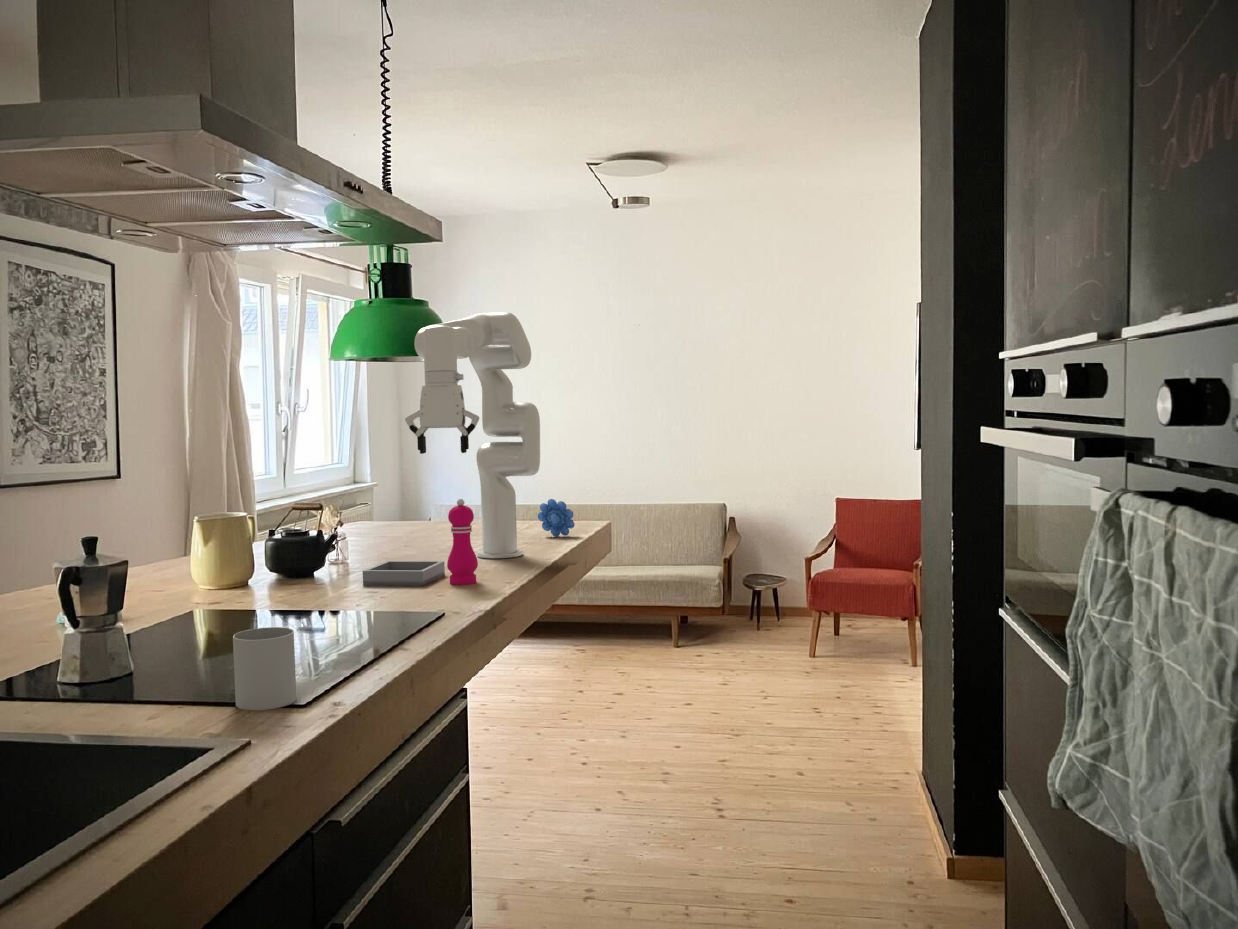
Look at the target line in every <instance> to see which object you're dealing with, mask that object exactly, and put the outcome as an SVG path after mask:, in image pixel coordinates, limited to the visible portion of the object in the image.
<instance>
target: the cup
mask: <svg viewBox="0 0 1238 929" xmlns="http://www.w3.org/2000/svg"><path fill="white" fill-rule="evenodd" d="M232 646H233V647H232V648H233V649H232V650H233V652H232V653H233V673H234V674H233V675H234V691H235V692H234V694H235V707H237V708H238V709H240V710H244V711H267V710H273V709H278V708H279V709H280V708H283V707H286V706H289V705H292V704H293V703H295V702H296V701H297V676H296V673H297V672H296V654H295V651H296V650H295V632H294V629H292V628H289V627H278V626H276V627H275V626H273V627H269V626H268V627H259V628H251V629H247V630H242V631H239V632H237V633H234V634H233V636H232Z"/></svg>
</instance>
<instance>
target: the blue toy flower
mask: <svg viewBox="0 0 1238 929" xmlns="http://www.w3.org/2000/svg"><path fill="white" fill-rule="evenodd" d="M539 509H540V511H541V512H538V514H537V519H538V520H539V522H542V523H541V527H542V530H544V531H545V532H550V534H551V535H552V536H553V537H555V536H557V537H559V536H560V535H562V536H568V535H569V534H570V529H571V530H572V529H573V528H575V522H574V520H573V518H574V512H573V510H571V509H569V508H567V504H566V503H565V501H562V500H560V501H558V502H557V500H555V499H553V498H549V499H548V500H547V503H545V502H542V503H541V504H540V505H539Z"/></svg>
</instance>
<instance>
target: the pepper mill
mask: <svg viewBox="0 0 1238 929" xmlns="http://www.w3.org/2000/svg"><path fill="white" fill-rule="evenodd" d="M474 516H475V514H474V511H473V509H472V508H471V507H469V506H468V505H465V501H464V499H462V498H459V499H458V500H456V505H455V506H453V507H451V509H450V510H449V511H448V514H447V518H448V522H449V523H450V524H451V526H450V533H452V539H453V540H452V547H451V550H450V552H449V554H448V558H447V564H446V567H447V569H448V570H449V572H450V573H451V574H450V575H449V583H450V585H455V586H461V585H462V586H465V585H472V584H475V583H476V582H477V574H475V571H476V570H477V568H478V566H479V562H478V558H477V557H478V556H477V555H476V552H475V551H474V549H473V546H472V542H471V532H473V529H472V528H473V526H472V525H471V524H472V523H473V521H474V519H475V517H474Z"/></svg>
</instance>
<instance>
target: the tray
mask: <svg viewBox="0 0 1238 929" xmlns="http://www.w3.org/2000/svg"><path fill="white" fill-rule="evenodd" d="M445 568H446V567H445V560H439V561H438V560H386V561H384V562H381V563H378V564H376V565H374V566H372V567H368V568H367V569H364V570H362V586H366V587H367V586H368V587H369V586H373V587H374V586H375V587H376V586H378V587H379V586H380V587H381V586H382V587H383V586H385V587H392V586H393V587H425V586H427V585H428V584H430V583H432V582H434V581H437V580H438V579H441V578H442V577H444V576H446V574H445V573H446V572H445Z"/></svg>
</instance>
